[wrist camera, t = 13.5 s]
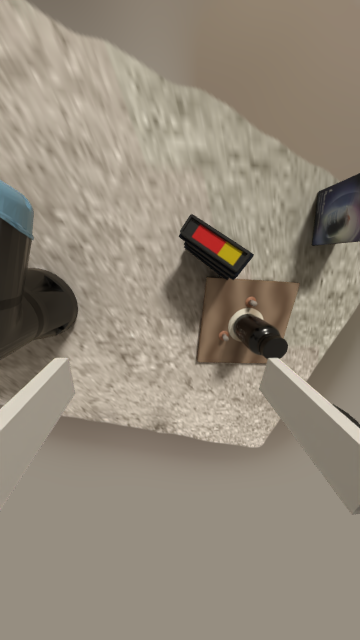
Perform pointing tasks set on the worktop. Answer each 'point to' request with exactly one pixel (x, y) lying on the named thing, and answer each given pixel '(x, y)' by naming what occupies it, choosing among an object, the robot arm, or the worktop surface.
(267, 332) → the supplement bottle
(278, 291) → the board
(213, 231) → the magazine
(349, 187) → the small box
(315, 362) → the worktop surface
